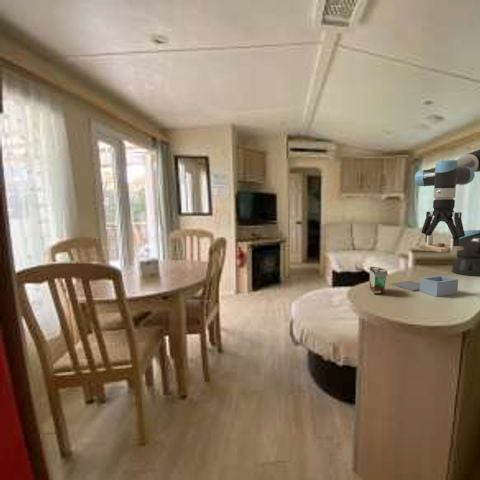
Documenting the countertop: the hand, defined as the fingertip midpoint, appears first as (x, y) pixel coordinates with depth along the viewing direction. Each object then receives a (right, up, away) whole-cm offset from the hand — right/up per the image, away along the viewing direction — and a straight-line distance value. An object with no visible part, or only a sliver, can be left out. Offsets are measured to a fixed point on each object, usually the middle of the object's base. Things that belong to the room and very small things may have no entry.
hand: (440, 252), depth 133 cm
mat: (-6, -16, +12) cm, 21 cm away
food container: (-24, -18, +4) cm, 30 cm away
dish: (0, -17, +2) cm, 18 cm away
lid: (0, +1, 0) cm, 1 cm away
